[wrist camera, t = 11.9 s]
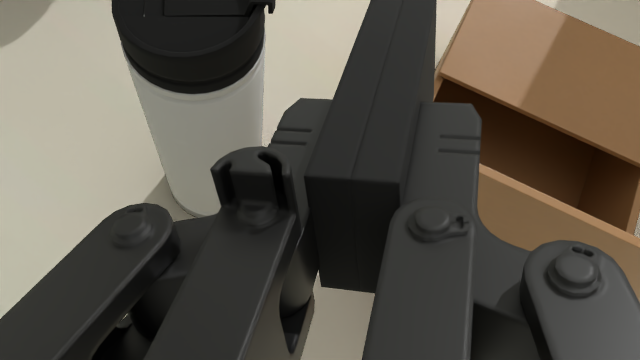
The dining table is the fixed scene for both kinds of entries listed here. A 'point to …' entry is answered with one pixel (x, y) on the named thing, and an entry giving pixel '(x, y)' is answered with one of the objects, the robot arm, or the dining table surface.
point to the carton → (551, 103)
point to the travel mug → (196, 84)
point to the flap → (549, 222)
